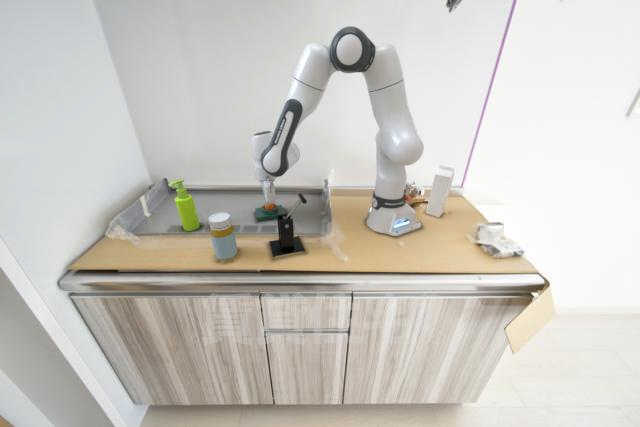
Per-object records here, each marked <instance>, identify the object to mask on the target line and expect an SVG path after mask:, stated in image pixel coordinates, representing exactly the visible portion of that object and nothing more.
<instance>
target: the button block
mask: <svg viewBox="0 0 640 427" xmlns="http://www.w3.org/2000/svg"><path fill="white" fill-rule="evenodd" d="M254 210H255V216H256V220H257V223H260V222H261V223H262V222H266V221H274V220H277V215H278V214H286V211H285V209H284V207H283V204H275V203H274V209H271V210H266V209H265V204H263V205H262V206H261V207H256V208H255V209H254Z"/></svg>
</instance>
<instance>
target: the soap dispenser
mask: <svg viewBox="0 0 640 427" xmlns="http://www.w3.org/2000/svg"><path fill="white" fill-rule="evenodd" d="M183 183H185V179H176V180H173V181H171V182H170V183H168V184H167V186H169V187H175V186H176V185H177V186H176V187H177V188H176V189H175V191H176V195H177V196H176V197H175V198H174V202H175V205H176V208H177V211H178V214H179V217H180V221H181V224H182V227H183V230H184V231H186V232H191V231H196V230H198V229H199V228H201V227H200V226H201V225H200V221H199V216H198V213H197V209H196V206H195V202H194V197H193V195H191V194H189V193H188V190H187V187H185V186H184V185H183Z"/></svg>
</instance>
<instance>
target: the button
mask: <svg viewBox="0 0 640 427" xmlns="http://www.w3.org/2000/svg"><path fill="white" fill-rule="evenodd" d="M274 204H275V203H271V205H267V202H266V203H264V205H265V209H266V210H271V209H274Z"/></svg>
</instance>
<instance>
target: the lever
mask: <svg viewBox="0 0 640 427" xmlns="http://www.w3.org/2000/svg"><path fill="white" fill-rule="evenodd" d="M298 198H299V199H298V200H297V202H296V203H295V204H294V206H293V207H292V209H291V210H290V211H289V212H288V213H289V214H288V215H287V217H286V216H283V218H282V219H281V220H285V219H290V218H291V219H292V218H293V216H294V214H295V213H296V212H297V210H298V209H299V207H300V206H301V205H302V204H304V205H306V204H307V202H308V200H307V198H306V197H305V195H304V193H301V192H299V194H298Z"/></svg>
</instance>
